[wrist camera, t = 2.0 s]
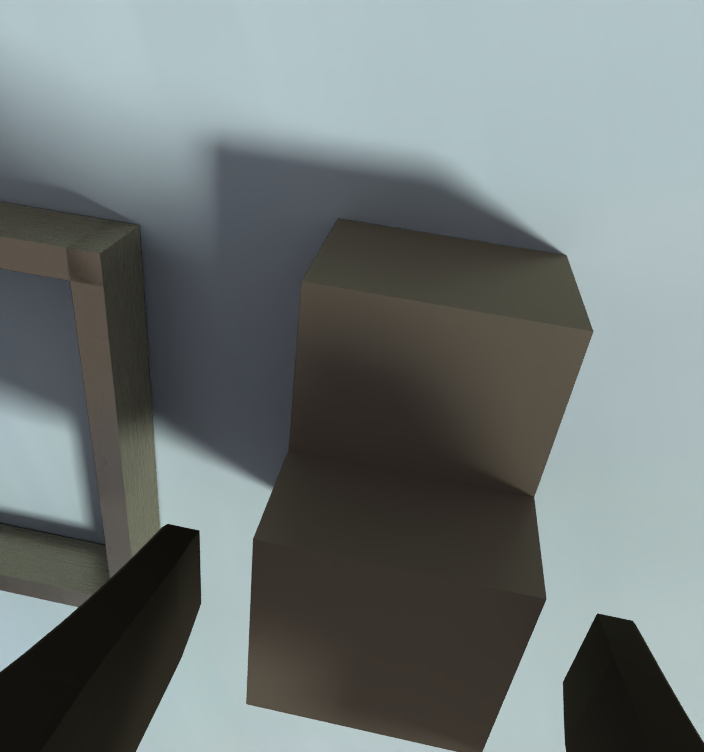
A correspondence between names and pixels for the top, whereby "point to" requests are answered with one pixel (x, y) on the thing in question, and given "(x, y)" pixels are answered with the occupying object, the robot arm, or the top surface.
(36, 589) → the grey rectangular frame
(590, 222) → the top surface
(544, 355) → the stepped block
